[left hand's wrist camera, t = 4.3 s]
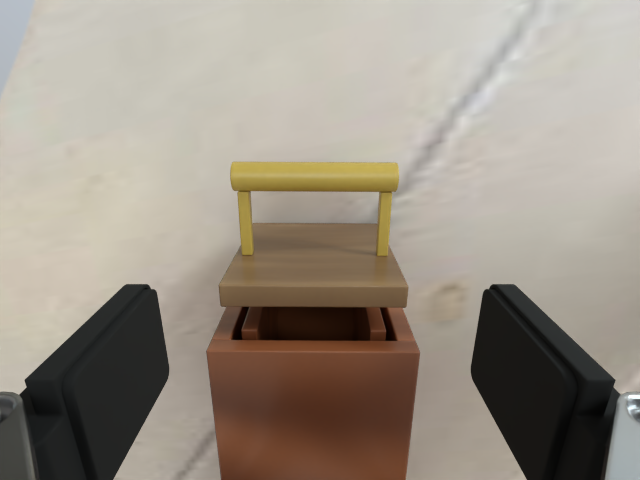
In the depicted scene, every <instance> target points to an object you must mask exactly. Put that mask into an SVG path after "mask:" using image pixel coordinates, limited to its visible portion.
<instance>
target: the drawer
mask: <svg viewBox="0 0 640 480" xmlns="http://www.w3.org/2000/svg"><path fill="white" fill-rule="evenodd" d="M230 177H231V185H232V189H233V190H234V191H238V206H239V221H240V235H241V246H240V248H239V250H238V251H237V253H236V255H235V257H234V259H233V261H232V262H231V264H230V266H229V268H228V270H227V271H226V273H225V275H224V277H223V279H222V280H221V282H220V284H219V293H220V304H221V306H222V307H249V310H248V313H247V316H246V319H245V321H244V324H243V327H242V330H241V332H242V340H306V341H385V339H386V329H385V326H384V322H383V318H382V315H381V311H380V308H379V307H387V308H405V307H406V306H407V296H408V285H407V283H406V281H405V278H404V276H403V274H402V272H401V270H400V268H399V266H398V263H397V261H396V259H395V257H394V255H393V253H392V251H391V249H390V246H389V229H390V215H391V201H392V192H396V190H397V188H398V182H399V168H398V164H397V163H360V162H233V163H232V165H231V172H230ZM250 191H338V192H379V207H378V224H315V223H253V224H252V211H251V194H250Z"/></svg>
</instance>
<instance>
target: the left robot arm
mask: <svg viewBox="0 0 640 480" xmlns="http://www.w3.org/2000/svg"><path fill="white" fill-rule="evenodd" d="M168 376H169V364H168V357H167V351H166V345H165V339H164V333H163V327H162V321H161V315H160V309H159V303H158V297H157V292H156V290H154V289H151V288H150V286H149V285H147V284H126V285H125V286H123V287H122V288H121V289H120V290H119V291H118V292H117V293H116V294H115V295H114V296H113V297H112V298H111V299H110V300H109V301H108V302H106V303H105V304H104V305H103V306H102V307H101V308H100V309H99V310H98V311H97V312H96V313H95V314H94V315H93V316H92V317H91V318H90V319H89V320H87V321H86V322H85V323H84V324H83V325H82V326H81V327H80V328H79V329H78V330H77V331H76V332H75V333H74V334H73V335H72V336H71V337H70V338H68V339H67V340H66V341H65V342H64V343H63V344H62V345H61V346H60V347H59V348H58V349H57V350H56V351H55V352H54V353H53V354H52V355H51V356H49V357H48V358H47V359H46V360H45V361H44V362H43V363H42V364H41V365H40V366H39V367H38V368H37V369H36V370H35V371H34V372H33V373H32V374H30V375H29V376H28V377H27V378H26V379H25V383H26V386H27V388H26V389H25V390H24V391H23V392H22V393H21V394H20V395H18V394H16V393H13V392H0V480H113V479H114V477H115V475H116V473H117V471H118V470H119V468H120V466H121V464H122V462H123V460H124V459H125V457H126V455H127V453H128V451H129V449H130V448H131V446H132V444H133V442H134V440H135V438H136V437H137V435H138V433H139V431H140V429H141V427H142V426H143V424H144V422H145V420H146V418H147V416H148V415H149V413H150V411H151V409H152V407H153V405H154V404H155V402H156V400H157V398H158V396H159V394H160V393H161V391H162V389H163V387H164V385H165V383H166V382H167V379H168ZM471 376H472V379H473V382H474V383H475V385H476V387H477V389H478V391H479V393H480V394H481V396H482V398H483V400H484V402H485V404H486V405H487V407H488V409H489V411H490V413H491V415H492V416H493V418H494V420H495V422H496V424H497V426H498V427H499V429H500V431H501V433H502V435H503V437H504V438H505V440H506V442H507V444H508V446H509V448H510V449H511V451H512V453H513V455H514V457H515V459H516V460H517V462H518V464H519V466H520V468H521V470H522V471H523V473H524V475H525V477H526V479H527V480H640V392H627V393H624V394H622V395H620V394H619V393H618V392H617V391H616V390H615V389H614V388H613V386H614V383H615V379H614V378H613V377H612V376H611V375H610V374H608V373H607V372H606V371H605V370H604V369H603V368H602V367H601V366H600V365H599V364H598V363H597V362H596V361H595V360H594V359H593V358H592V357H591V356H589V355H588V354H587V353H586V352H585V351H584V350H583V349H582V348H581V347H580V346H579V345H578V344H577V343H576V342H575V341H574V340H573V339H572V338H570V337H569V336H568V335H567V334H566V333H565V332H564V331H563V330H562V329H561V328H560V327H559V326H558V325H557V324H556V323H555V322H554V321H553V320H551V319H550V318H549V317H548V316H547V315H546V314H545V313H544V312H543V311H542V310H541V309H540V308H539V307H538V306H537V305H536V304H535V303H534V302H532V301H531V300H530V299H529V298H528V297H527V296H526V295H525V294H524V293H523V292H522V291H521V290H520V289H519V288H518V287H517V286H515V285H514V284H493V285H491V286H490V288H489V289H486V290H484V292H483V297H482V303H481V309H480V315H479V321H478V327H477V333H476V339H475V345H474V351H473V357H472V364H471Z"/></svg>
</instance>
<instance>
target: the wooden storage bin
mask: <svg viewBox="0 0 640 480" xmlns="http://www.w3.org/2000/svg"><path fill="white" fill-rule="evenodd" d="M379 308H380V311H381V315H382V318H383V322H384V326H385V329H386V339H385V341H306V340H242V332H241V330H242V327H243V324H244V321H245V319H246V316H247V313H248V310H249V307H226V309H225V311H224V314H223V316H222V318H221V320H220V322H219V325H218V327H217V329H216V331H215V333H214V336H213V338H212V340H211V342H210V345H209V347H208V349H207V351H206V352H207V361H208V369H209V378H210V387H211V395H212V404H213V413H214V421H215V430H216V439H217V447H218V456H219V465H220V473H221V480H406V472H407V463H408V454H409V445H410V437H411V428H412V419H413V410H414V401H415V393H416V384H417V375H418V366H419V357H420V351H419V349H418V346H417V344H416V342H415V339H414V336H413V334H412V331H411V329H410V326H409V323H408V321H407V318H406V316H405V313H404V311H403V308H387V307H379Z"/></svg>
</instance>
